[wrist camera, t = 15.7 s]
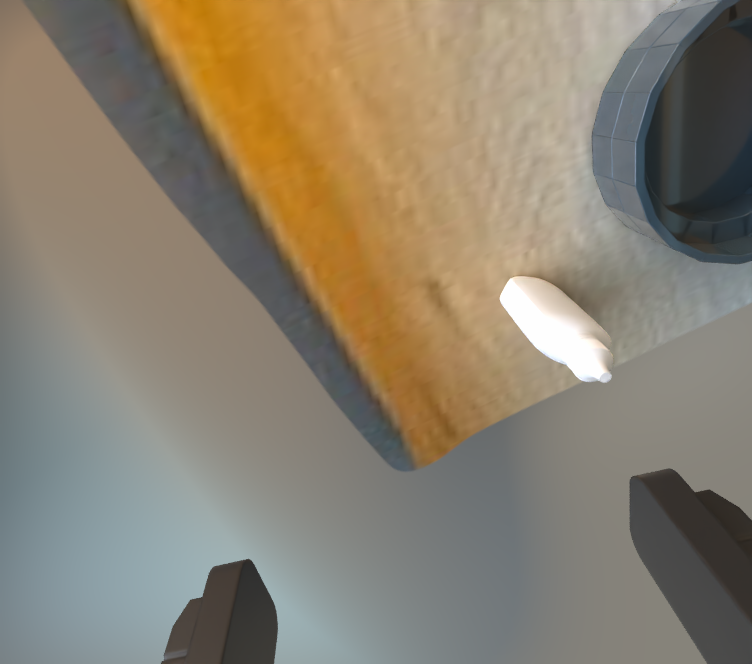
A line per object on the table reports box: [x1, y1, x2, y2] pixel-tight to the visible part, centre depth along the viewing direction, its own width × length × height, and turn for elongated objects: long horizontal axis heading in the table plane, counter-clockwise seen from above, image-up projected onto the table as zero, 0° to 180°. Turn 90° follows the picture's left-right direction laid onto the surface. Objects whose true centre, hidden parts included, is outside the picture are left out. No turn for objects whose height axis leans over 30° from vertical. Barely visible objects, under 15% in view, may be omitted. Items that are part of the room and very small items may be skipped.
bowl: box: [592, 0, 752, 264], centre depth 31 cm, size 16×16×6 cm
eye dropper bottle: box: [500, 276, 614, 383], centre depth 34 cm, size 4×6×12 cm
